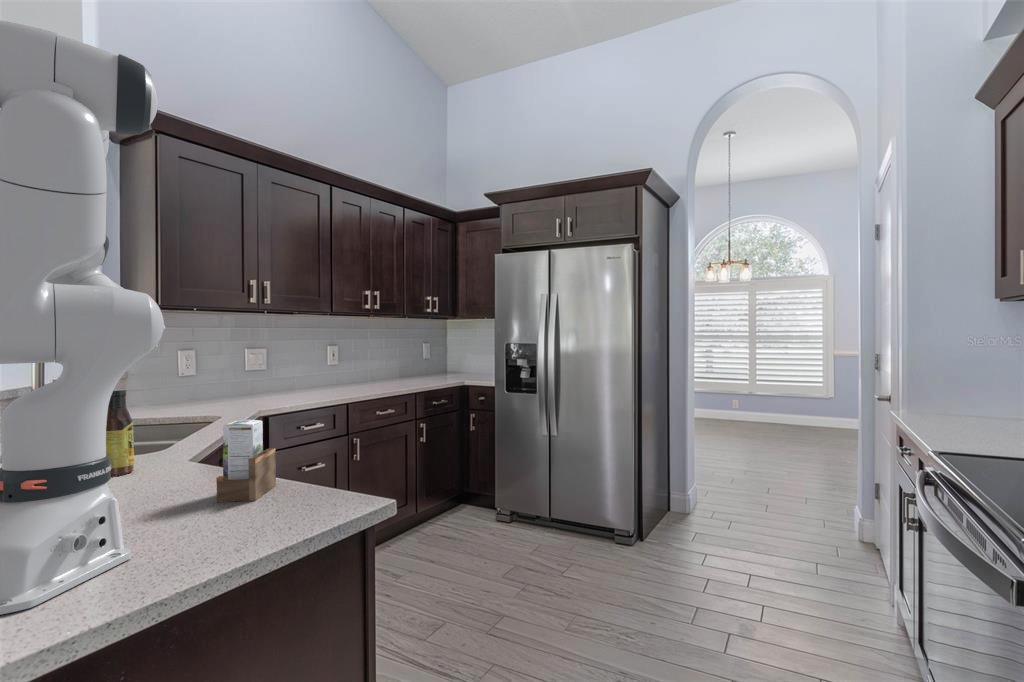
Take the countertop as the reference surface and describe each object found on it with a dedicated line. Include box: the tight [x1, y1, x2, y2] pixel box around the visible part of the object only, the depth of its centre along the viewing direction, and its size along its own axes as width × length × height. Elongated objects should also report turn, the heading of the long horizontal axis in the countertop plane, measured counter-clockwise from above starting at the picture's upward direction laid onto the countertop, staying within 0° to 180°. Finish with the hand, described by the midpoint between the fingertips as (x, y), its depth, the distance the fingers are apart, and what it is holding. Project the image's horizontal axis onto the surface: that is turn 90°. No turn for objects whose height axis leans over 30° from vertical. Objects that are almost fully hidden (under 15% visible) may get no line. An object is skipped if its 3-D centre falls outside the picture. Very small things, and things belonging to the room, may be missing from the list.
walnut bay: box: [216, 447, 277, 503], centre depth 107 cm, size 11×7×8 cm
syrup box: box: [222, 419, 264, 480], centre depth 107 cm, size 6×6×14 cm
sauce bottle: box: [106, 388, 135, 477], centre depth 126 cm, size 7×6×20 cm
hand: (151, 349), depth 106 cm, fingers closed
